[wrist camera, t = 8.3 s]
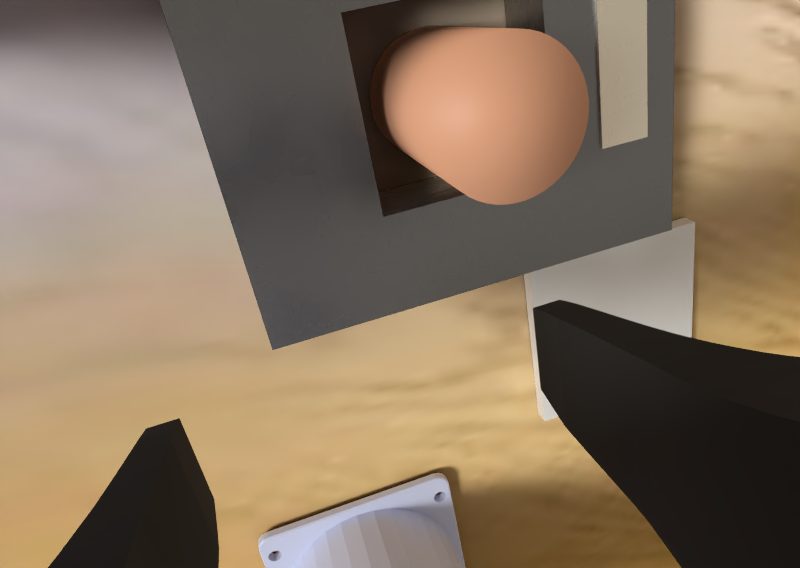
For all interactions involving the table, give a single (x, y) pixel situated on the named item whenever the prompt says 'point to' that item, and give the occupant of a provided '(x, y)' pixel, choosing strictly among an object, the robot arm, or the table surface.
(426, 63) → the peg
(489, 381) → the table surface
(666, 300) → the tile
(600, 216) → the hole plate
